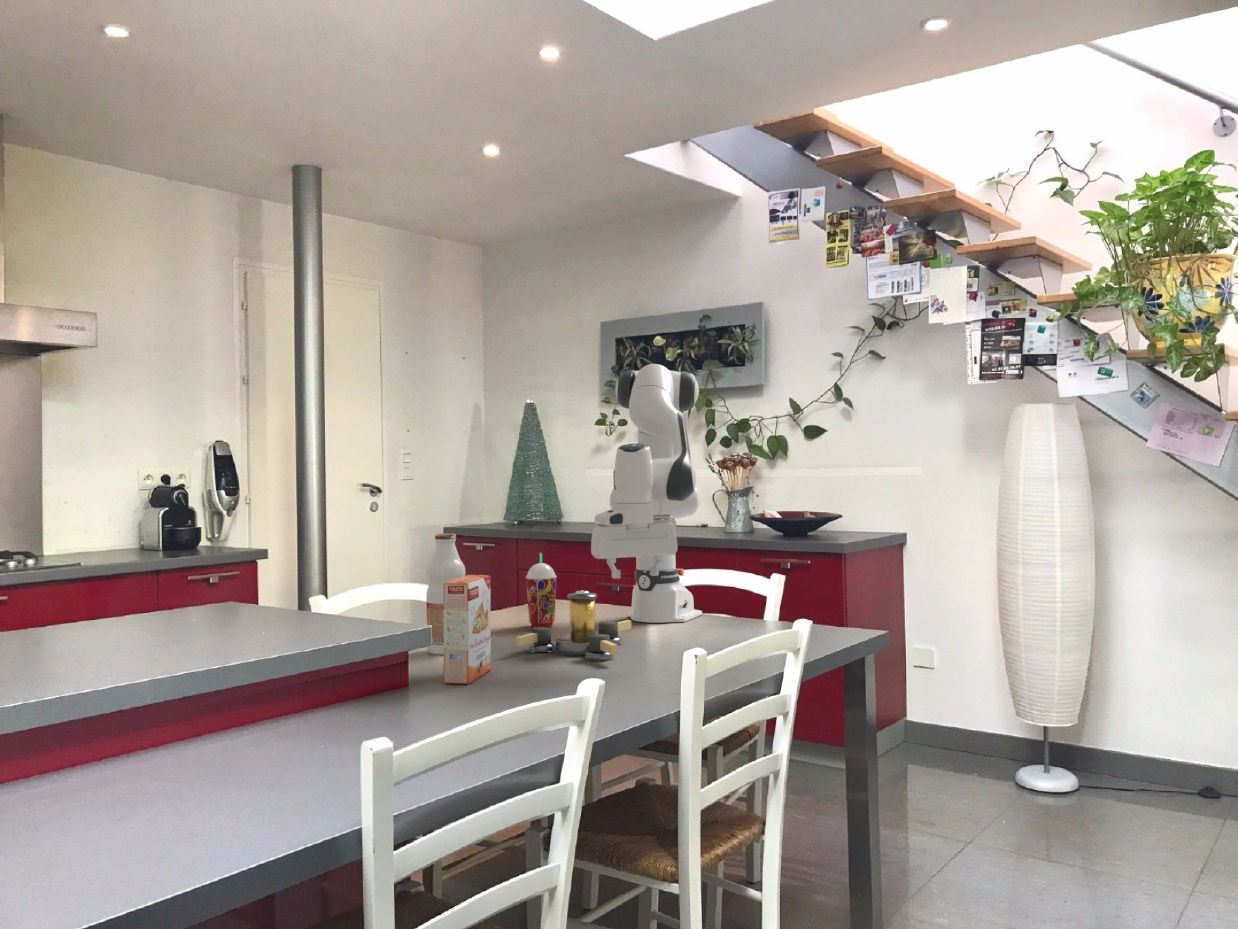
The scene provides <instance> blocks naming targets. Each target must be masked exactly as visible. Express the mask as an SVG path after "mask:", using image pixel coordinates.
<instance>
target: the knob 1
mask: <svg viewBox="0 0 1238 929" xmlns="http://www.w3.org/2000/svg"><path fill="white" fill-rule="evenodd" d="M514 640H515V641H514V642H515V643H514V644H515V645H514V646H515V647H524V646H528V644H531V643H532V644H549V643H551V642H552V627H549V628H548V627H538V628H533V627H531V629H530V633H526V634H523V635H519V636H516V637H515V639H514Z"/></svg>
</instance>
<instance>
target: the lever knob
mask: <svg viewBox="0 0 1238 929" xmlns="http://www.w3.org/2000/svg"><path fill="white" fill-rule="evenodd" d="M597 625H598V627H597V628H598V633H597V634H606V635H609V636H610V638H614V637H618V636H619V633H620V632H623V631H627V630H631V629H632V620H629V619H626V620H622V621H618V622H617V621H611V620H610V621H609V620H607V621H600V622H598V623H597Z"/></svg>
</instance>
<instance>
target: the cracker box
mask: <svg viewBox="0 0 1238 929" xmlns="http://www.w3.org/2000/svg"><path fill="white" fill-rule="evenodd" d="M491 580H492V578H491V576H490V575H489V574H488V575H487V574H465V576H463V577H460V578H457V579H453V580H450V581H447V582H444V583H443V624H444V655H443V684H452V685H470V684H471V683H473V682H474V681H476V680H478V679H479V678H480V676H481V677H482V676H484V675H485V674H487V673H488V671H489V672H490V671H491V668H492V666H491V664H492V663H491V652H492V651H491V648H492V646H491V644H492V643H491V640H492V639H491V637H492V636H491V630H492V628H491V591H492V589H491ZM486 672H487V673H486ZM483 674H484V675H483Z"/></svg>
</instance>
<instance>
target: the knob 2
mask: <svg viewBox="0 0 1238 929" xmlns="http://www.w3.org/2000/svg"><path fill="white" fill-rule="evenodd" d="M588 637H589V651H591V652H607V653H609V654H611V655H613V656H614V655H618V654H619V653H618V646H617V645H616V644H614V643H612V642H610V636H609V635H606V634H598V633H596V634H594V635H589V636H588Z"/></svg>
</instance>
